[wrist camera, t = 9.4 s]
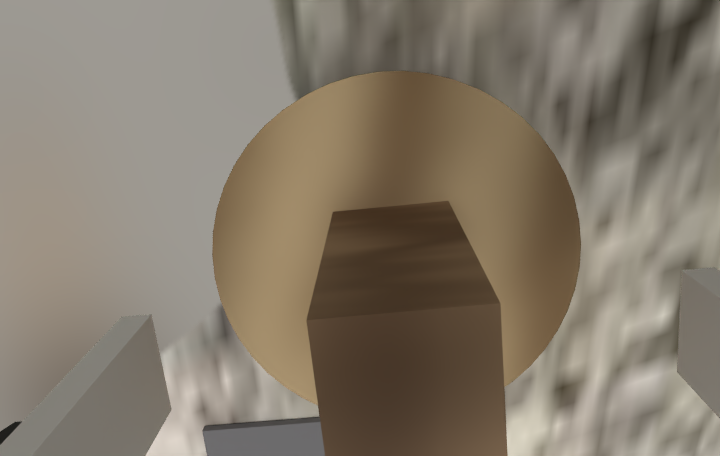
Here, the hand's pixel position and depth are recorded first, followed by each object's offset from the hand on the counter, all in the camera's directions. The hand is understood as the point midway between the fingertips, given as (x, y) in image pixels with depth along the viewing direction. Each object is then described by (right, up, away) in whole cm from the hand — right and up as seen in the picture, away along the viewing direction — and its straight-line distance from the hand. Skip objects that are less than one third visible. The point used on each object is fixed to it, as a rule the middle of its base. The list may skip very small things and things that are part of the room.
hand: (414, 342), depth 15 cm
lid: (0, +2, +7) cm, 8 cm away
